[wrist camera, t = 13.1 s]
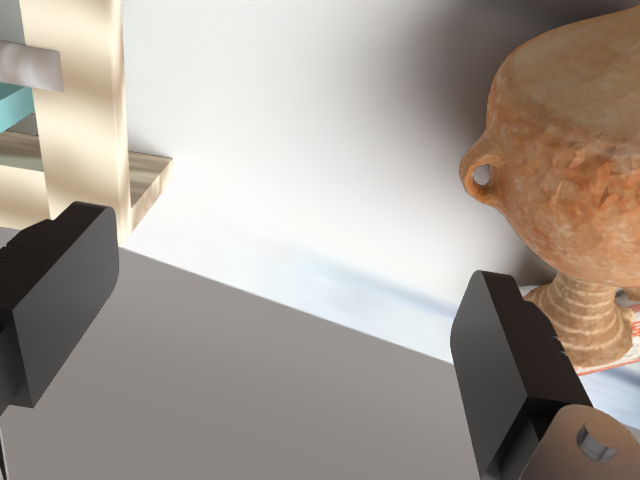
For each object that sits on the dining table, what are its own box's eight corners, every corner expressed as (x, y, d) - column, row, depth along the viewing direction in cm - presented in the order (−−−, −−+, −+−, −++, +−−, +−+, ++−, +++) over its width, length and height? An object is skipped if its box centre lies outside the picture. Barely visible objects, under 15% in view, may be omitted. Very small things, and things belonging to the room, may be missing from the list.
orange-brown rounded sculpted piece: (986, -57, 25) (768, 344, 42) (609, -55, 38) (564, 248, 56) (799, 87, 17) (632, 497, 35) (416, 25, 31) (436, 344, 49)
